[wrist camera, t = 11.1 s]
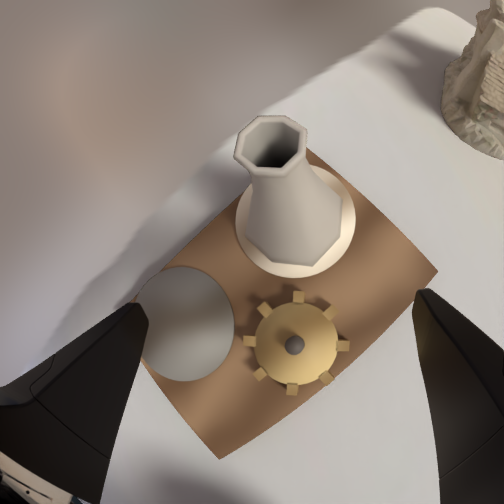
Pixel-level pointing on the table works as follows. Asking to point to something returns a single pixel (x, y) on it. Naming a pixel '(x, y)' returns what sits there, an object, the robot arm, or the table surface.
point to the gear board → (271, 316)
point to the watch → (75, 500)
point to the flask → (286, 194)
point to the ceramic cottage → (479, 86)
